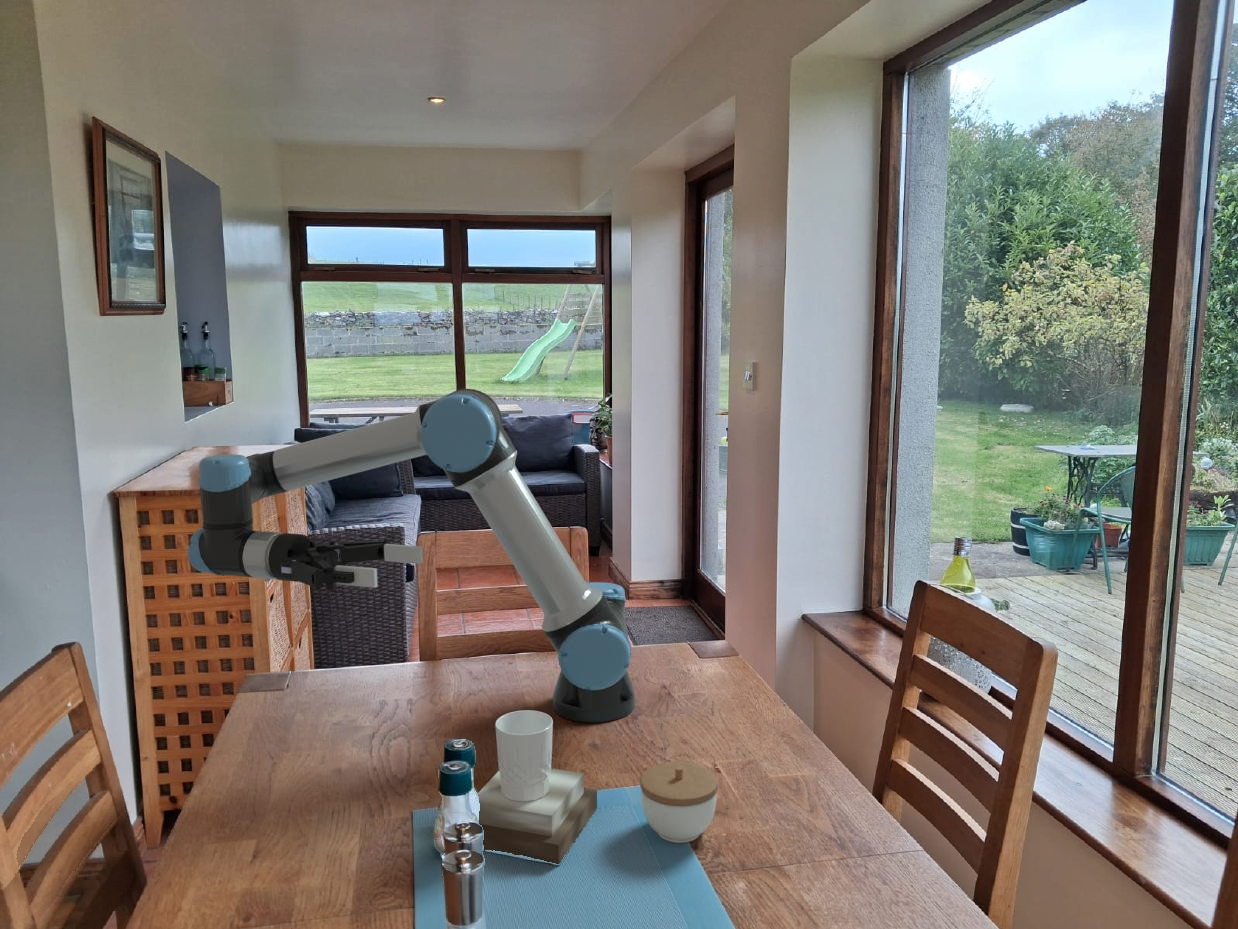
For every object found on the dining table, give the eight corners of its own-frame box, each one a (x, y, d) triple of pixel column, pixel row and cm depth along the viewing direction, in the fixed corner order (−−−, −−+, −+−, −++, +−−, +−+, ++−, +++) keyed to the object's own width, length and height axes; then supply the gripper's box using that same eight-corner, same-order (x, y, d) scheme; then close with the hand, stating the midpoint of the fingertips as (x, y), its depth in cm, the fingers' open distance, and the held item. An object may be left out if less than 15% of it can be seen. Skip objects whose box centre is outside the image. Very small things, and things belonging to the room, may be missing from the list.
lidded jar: (694, 862, 121) (694, 795, 120) (625, 837, 127) (625, 774, 126) (730, 824, 130) (731, 762, 129) (664, 803, 136) (665, 743, 134)
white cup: (489, 801, 125) (487, 732, 123) (507, 773, 133) (505, 708, 131) (545, 807, 124) (544, 737, 122) (560, 778, 131) (559, 712, 130)
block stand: (503, 792, 139) (502, 755, 138) (597, 808, 134) (596, 770, 134) (456, 846, 125) (454, 805, 124) (558, 866, 120) (558, 823, 119)
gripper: (328, 559, 159) (439, 568, 153) (228, 602, 135) (355, 614, 129) (325, 517, 158) (437, 524, 152) (225, 552, 134) (352, 562, 128)
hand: (400, 566), depth 141 cm, fingers open, 13 cm apart
